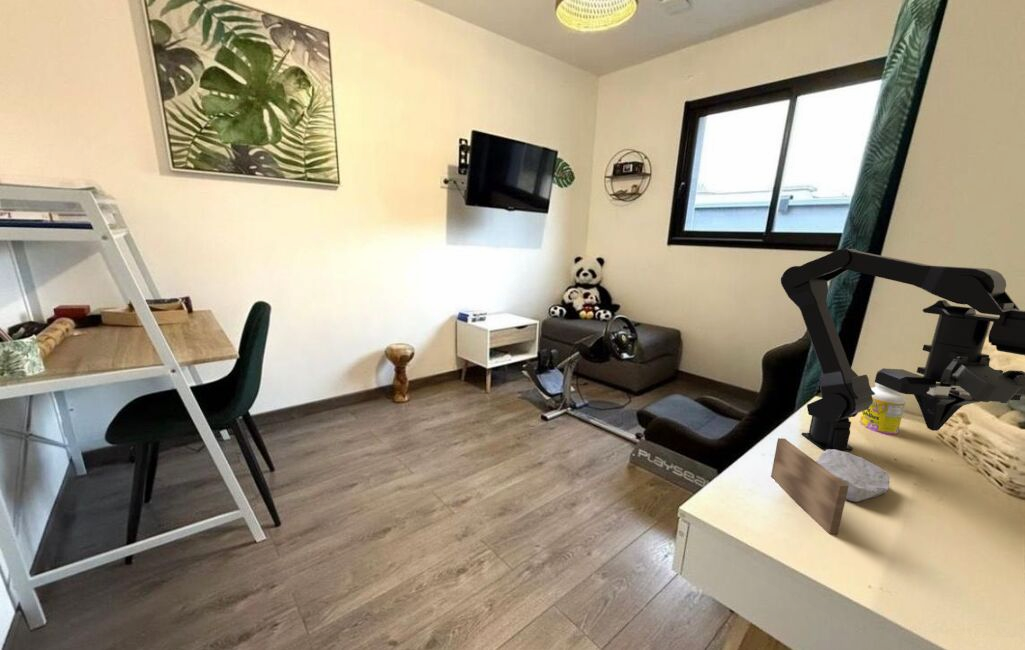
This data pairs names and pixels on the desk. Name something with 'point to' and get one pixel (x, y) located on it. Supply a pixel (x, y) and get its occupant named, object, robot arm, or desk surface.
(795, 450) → the walnut plate
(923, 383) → the robot arm
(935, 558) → the desk surface
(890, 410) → the supplement bottle
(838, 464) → the stone block
